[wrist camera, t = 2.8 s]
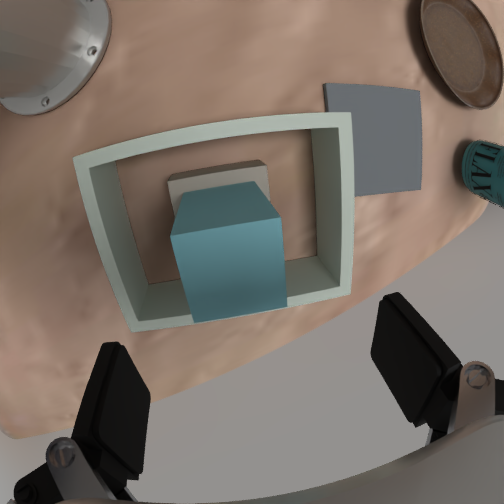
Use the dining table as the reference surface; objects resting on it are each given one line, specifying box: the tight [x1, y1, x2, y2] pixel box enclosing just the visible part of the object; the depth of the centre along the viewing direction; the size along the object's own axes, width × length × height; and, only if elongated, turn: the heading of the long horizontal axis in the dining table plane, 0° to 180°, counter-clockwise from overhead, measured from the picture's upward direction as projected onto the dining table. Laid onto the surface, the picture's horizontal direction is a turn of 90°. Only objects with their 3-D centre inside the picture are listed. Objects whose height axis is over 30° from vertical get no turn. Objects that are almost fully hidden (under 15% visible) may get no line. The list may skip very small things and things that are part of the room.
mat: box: [323, 83, 422, 197], centre depth 22 cm, size 10×10×1 cm
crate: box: [73, 112, 354, 332], centre depth 21 cm, size 14×18×6 cm
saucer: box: [420, 0, 504, 110], centre depth 18 cm, size 15×15×3 cm
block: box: [170, 181, 288, 323], centre depth 17 cm, size 5×5×8 cm
